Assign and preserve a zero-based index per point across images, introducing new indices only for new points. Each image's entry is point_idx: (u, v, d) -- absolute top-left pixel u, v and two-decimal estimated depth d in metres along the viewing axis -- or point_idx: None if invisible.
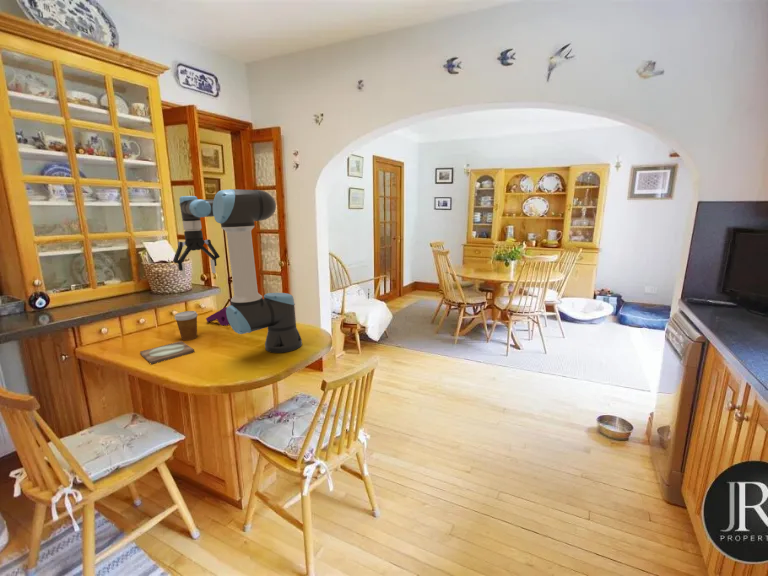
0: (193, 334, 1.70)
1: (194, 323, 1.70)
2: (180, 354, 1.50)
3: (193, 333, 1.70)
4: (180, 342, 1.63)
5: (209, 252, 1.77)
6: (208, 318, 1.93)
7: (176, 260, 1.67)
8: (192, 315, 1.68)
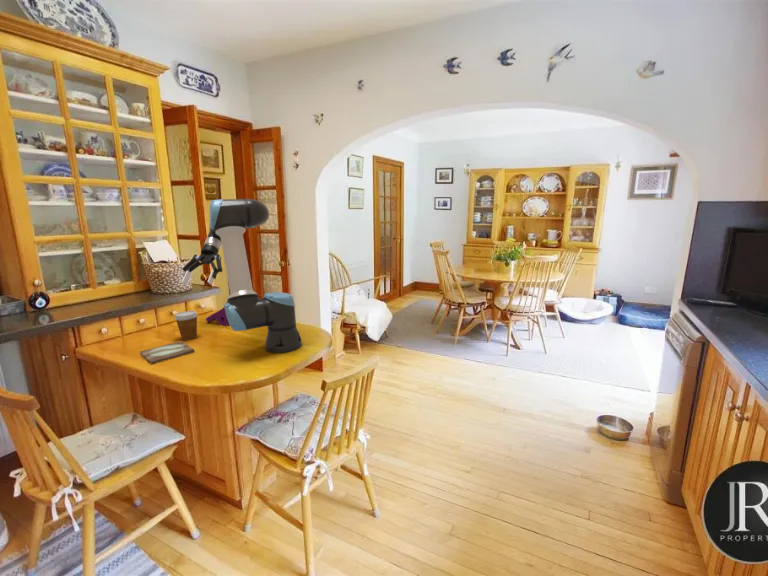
0: (193, 334, 1.70)
1: (194, 323, 1.70)
2: (180, 354, 1.50)
3: (193, 333, 1.70)
4: (180, 342, 1.63)
5: (213, 264, 1.81)
6: (208, 318, 1.93)
7: (184, 267, 1.82)
8: (192, 315, 1.68)
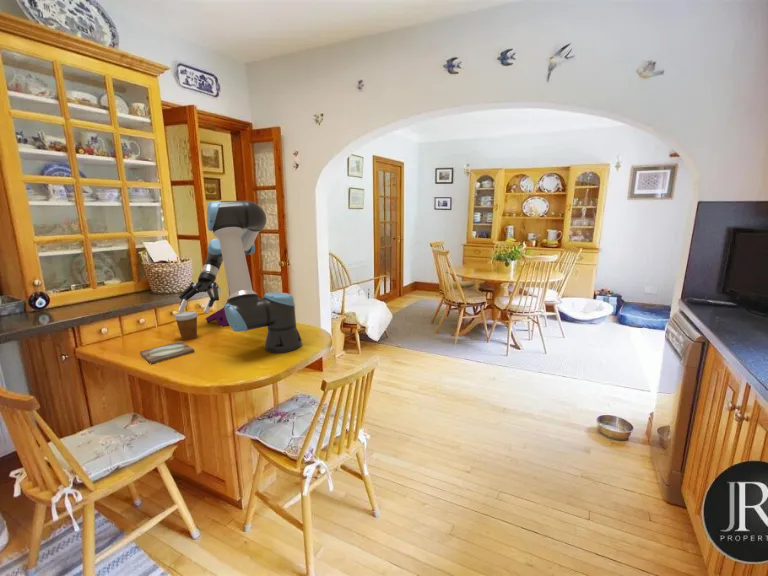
0: (193, 334, 1.70)
1: (194, 323, 1.70)
2: (180, 354, 1.50)
3: (193, 333, 1.70)
4: (180, 342, 1.63)
5: (209, 292, 1.79)
6: (207, 318, 1.93)
7: (180, 295, 1.81)
8: (192, 315, 1.68)
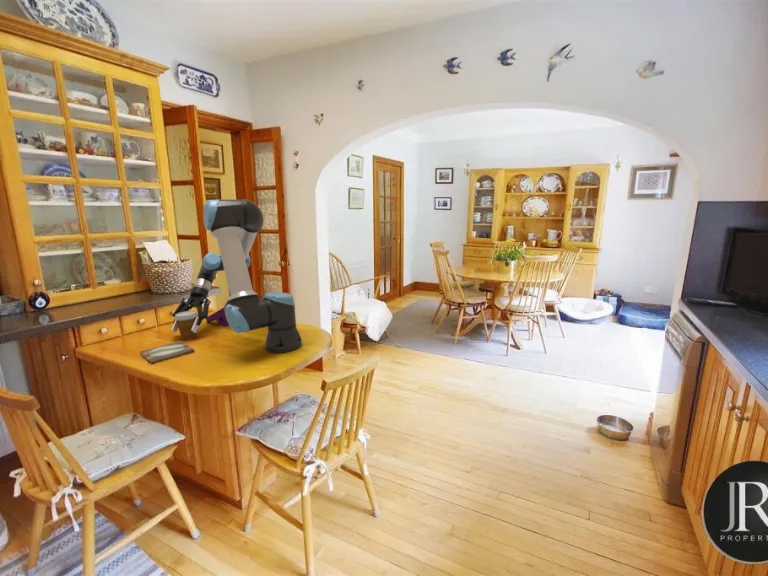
0: (193, 333, 1.70)
1: None
2: (180, 354, 1.50)
3: (193, 333, 1.70)
4: (180, 342, 1.63)
5: (199, 309, 1.72)
6: (207, 318, 1.93)
7: (174, 313, 1.73)
8: (192, 315, 1.68)
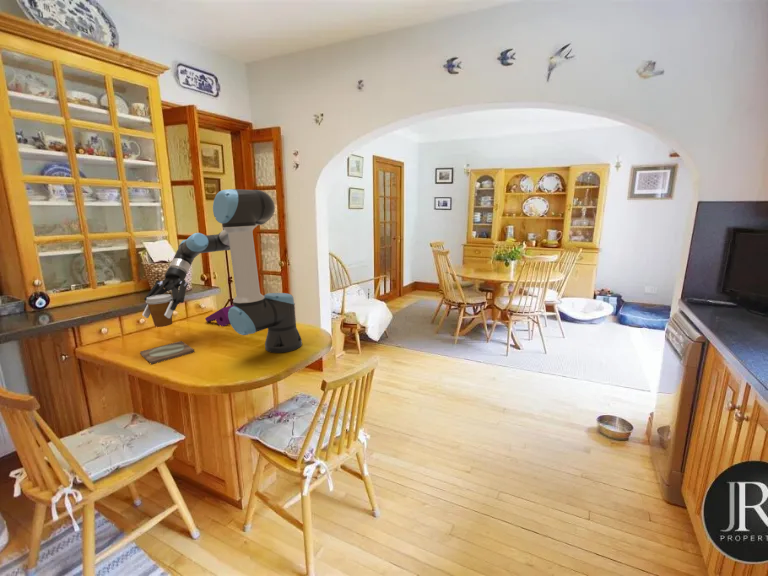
0: (167, 319, 1.50)
1: None
2: (180, 354, 1.50)
3: (167, 319, 1.50)
4: (180, 342, 1.63)
5: (174, 292, 1.52)
6: (207, 318, 1.93)
7: (146, 297, 1.53)
8: (165, 298, 1.48)
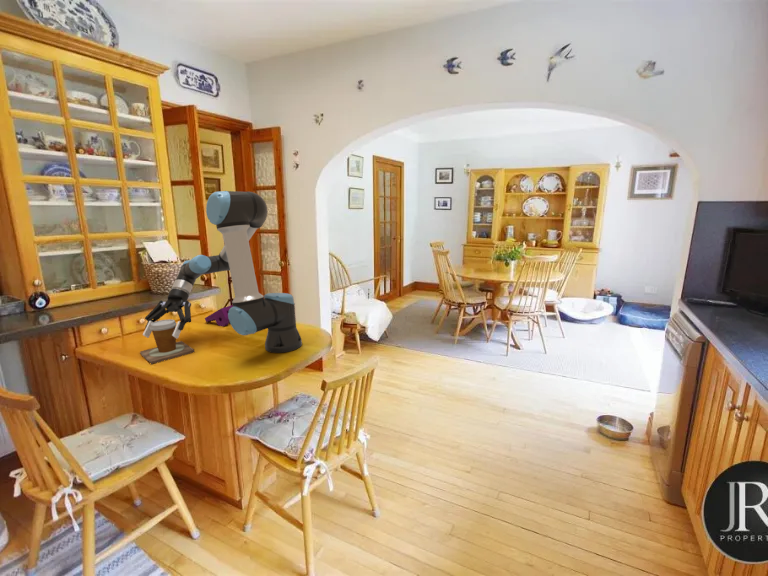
0: (170, 345, 1.52)
1: (172, 333, 1.52)
2: (180, 354, 1.50)
3: (171, 344, 1.52)
4: (180, 342, 1.63)
5: (180, 313, 1.54)
6: (206, 318, 1.93)
7: (147, 316, 1.55)
8: (170, 324, 1.50)
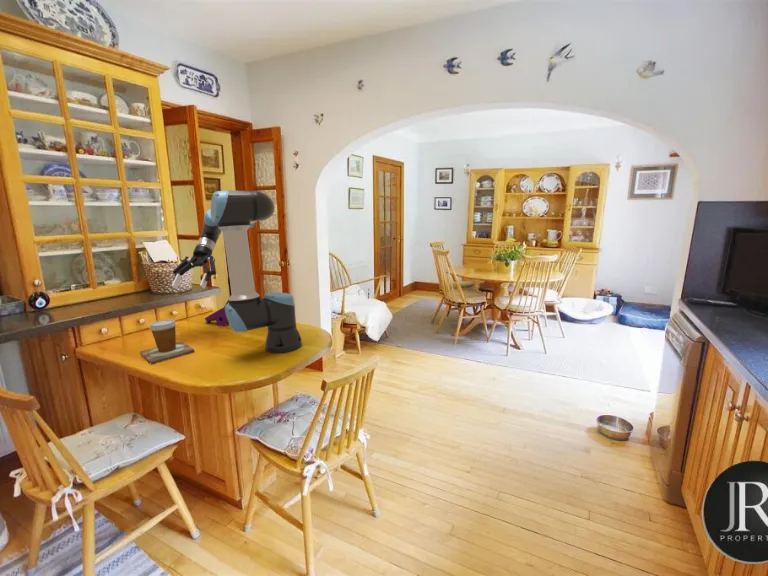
0: (170, 345, 1.52)
1: (172, 333, 1.51)
2: (180, 354, 1.50)
3: (171, 344, 1.52)
4: (180, 342, 1.63)
5: (206, 266, 1.66)
6: (207, 318, 1.93)
7: (174, 270, 1.67)
8: (169, 324, 1.50)
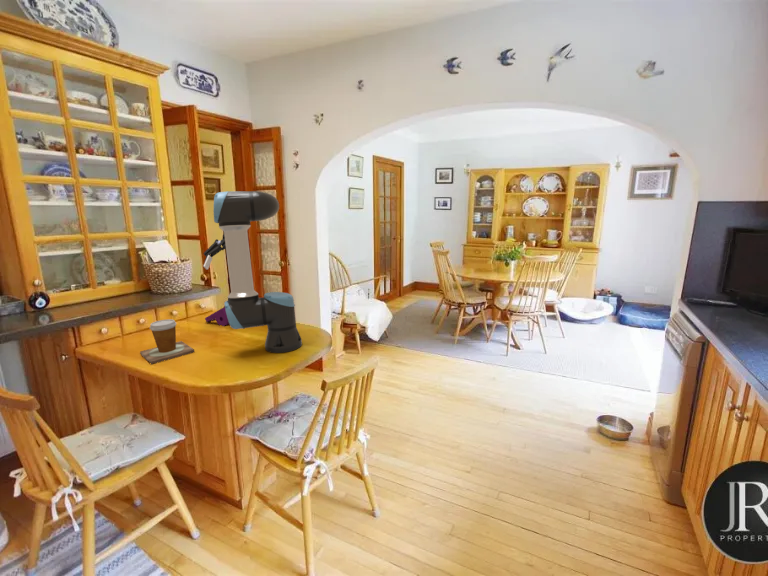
0: (170, 345, 1.52)
1: (172, 333, 1.51)
2: (180, 354, 1.50)
3: (171, 344, 1.52)
4: (180, 342, 1.63)
5: None
6: (207, 318, 1.93)
7: (205, 252, 1.76)
8: (169, 325, 1.50)
